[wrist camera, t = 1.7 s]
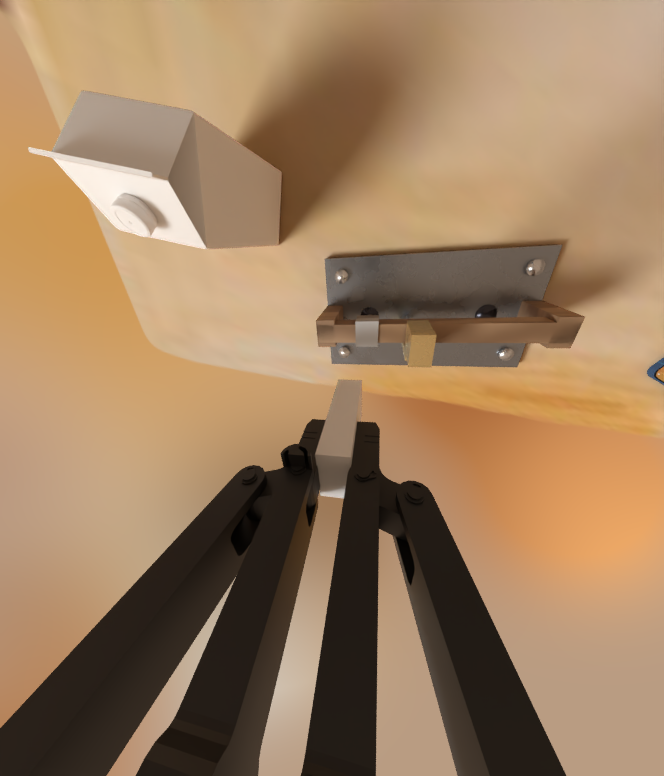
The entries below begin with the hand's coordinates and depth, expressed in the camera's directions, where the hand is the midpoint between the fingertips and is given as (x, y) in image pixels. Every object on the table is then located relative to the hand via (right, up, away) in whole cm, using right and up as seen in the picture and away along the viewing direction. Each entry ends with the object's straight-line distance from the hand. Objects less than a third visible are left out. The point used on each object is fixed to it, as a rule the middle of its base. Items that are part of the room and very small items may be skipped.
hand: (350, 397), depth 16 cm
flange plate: (+11, +10, +15) cm, 21 cm away
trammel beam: (+11, +10, +15) cm, 21 cm away
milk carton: (-11, +22, +13) cm, 28 cm away
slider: (+9, +9, +15) cm, 19 cm away
